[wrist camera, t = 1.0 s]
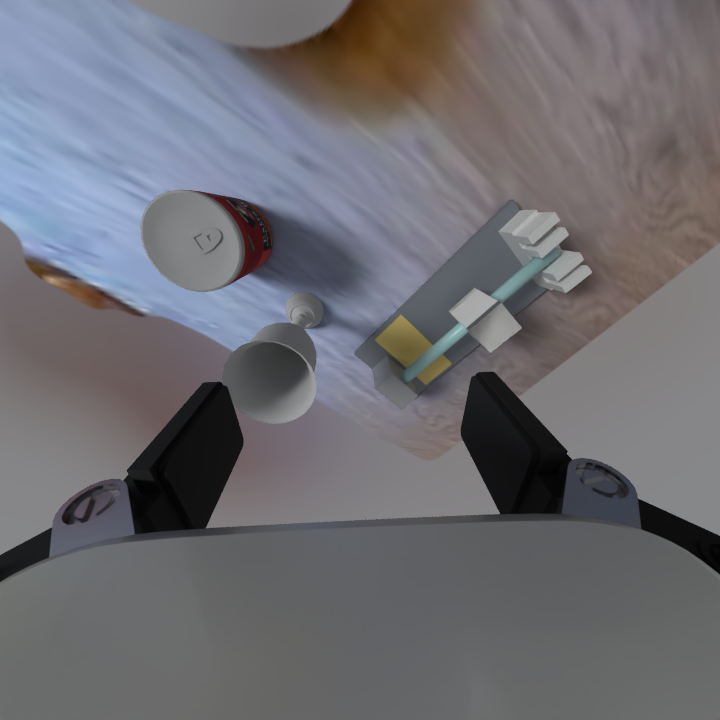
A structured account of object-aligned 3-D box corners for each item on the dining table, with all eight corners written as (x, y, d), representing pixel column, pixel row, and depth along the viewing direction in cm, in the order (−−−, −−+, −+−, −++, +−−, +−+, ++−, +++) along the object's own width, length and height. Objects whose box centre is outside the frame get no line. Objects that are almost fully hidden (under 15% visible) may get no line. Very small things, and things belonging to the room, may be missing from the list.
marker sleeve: (474, 287, 33) (501, 301, 27) (493, 309, 34) (522, 328, 28) (447, 311, 34) (468, 330, 28) (467, 331, 35) (490, 353, 30)
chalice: (326, 340, 38) (310, 428, 22) (276, 331, 37) (223, 417, 21) (334, 288, 35) (323, 349, 19) (280, 278, 34) (221, 331, 18)
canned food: (288, 240, 32) (262, 250, 22) (243, 284, 34) (201, 311, 24) (236, 180, 29) (179, 161, 19) (190, 232, 31) (119, 239, 21)
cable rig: (509, 200, 31) (545, 196, 25) (559, 274, 35) (599, 284, 29) (354, 352, 39) (355, 374, 33) (409, 397, 43) (418, 424, 38)
